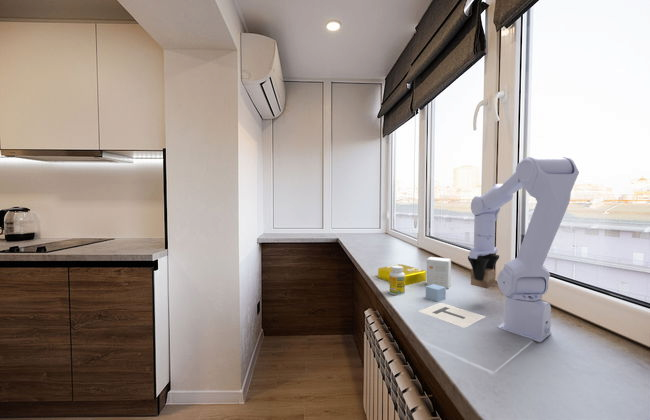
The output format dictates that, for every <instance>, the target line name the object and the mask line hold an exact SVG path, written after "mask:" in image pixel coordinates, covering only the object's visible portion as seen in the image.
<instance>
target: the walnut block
mask: <svg viewBox="0 0 650 420" xmlns="http://www.w3.org/2000/svg"><path fill="white" fill-rule="evenodd" d="M495 281H496V269H495V268H494V269H488V268H485V273H484V278H483V281H480V280H476V279H475V277H474V272H473V269H472V268H471V269H470V285H471V286H475V287H478V288H479V287H480V288H484V289H489V288H493V287H494V286H496V285H495V284H496V283H495Z"/></svg>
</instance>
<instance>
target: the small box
mask: <svg viewBox="0 0 650 420" xmlns="http://www.w3.org/2000/svg"><path fill="white" fill-rule="evenodd" d="M451 282H452V259H451V258H448V257H447V258H446V257H435V256H429V257H427V259H426V286H429V285H432V284H435V285H439V286H443V287H446V290H449V288H450V287H451V285H452V283H451Z"/></svg>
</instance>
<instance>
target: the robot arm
mask: <svg viewBox="0 0 650 420" xmlns="http://www.w3.org/2000/svg"><path fill="white" fill-rule="evenodd" d="M579 174H580V172H579V169H578V168H577V165H576V163H575V162H574V159H572V158H571V157H567V156H563V157H534V156H527V157H524V158H523V159H521V160H520V162H518V163H517V164H516V167H515V172H514V173H513V174H511V176H510V177H509V178H508V179H507V180H505V182H504V183H495V184H494V185H492V187H491V188H490V189H489V190H488V191H487V192H484V194H483V195H482V196H481V195H480V196H479V195H478V196H477V195H475V196H473V198H472V200H471V202H470V210H471V213H472V214H473V215H474V218H473V221H474V224H473V225H474V226H473V227H474V228H473V229H474V231H473V247H470V248H469V252H468V253H469V255H468V256H467V260H468V262H469V263H470V265H471V269H473V272H474V277H475V279H476V280H480V281H483V278H484V273H485V268H488V269H494V270H495V266H496V264H497V262H498V260H499V259H500V255H499V254H498V247H496V245H495V242H496V240H495V238H496V234H495V233H496V221H497V220H498V215H499V213H500V210H501V208H502V207H503V206H504V205H507V204H508V203H509V202H510V201H511V200H512V199H513V197H514V196H513V195H514V194H515V193H516V192H518V191H520V190H521V189H524V190H526V192H527V193H528V195H529V196H530V197H532V198H535V201H536V204H535V206H534V210H533V212H532V216H531V218H530V221H529V223H528V225H527V229H526V231H525V233H524V234H525V235H524V237H523V240H522V242H521V245H520V247H519V250H518V254H517V256H516V258H513V259H512V260H510V261H508V262H507V263H505V264H504V267H503V269H501V270H500V271H499V273H498V276H497V279H496V281H497V286H498V289H499V290H500V291H501V293H502V294H503V295H504V317H503V319H504V321H503V322H502V323H501V324H500V325H498V326H497V328H498V329H501V330H504V331H506V332H510V333H513V334H516V335H518V336H522V337H525V338H528V339H531V340H532V341H535V342H537V343H542V342H543V341H544V340H545V339H547V337H549V336H550V335H551V334H552V332H551V324H552V322H551V321H552V319H551V318H552V317H551V316H552V306H551V304H550V302H547V301H544V300H542V299H543V295H545V294H546V293H547V292H548V291H549V290H548V289H549V280H550V277H551V273H550V271H549V270H548V268H546V267H545V266H544V264H545V261H546V258H547V256H548V255H549V252H550V250H551V247H552V245H553V242H554V240H555V237H556V235H557V233H558V231H559V227H560V225H561V223H562V220H563V218H564V217H565V213H566V211H567V209H568V206H569V204H570V201H571V193H572V190H573V189H574V186H575V183H576V180H577V178H578V176H579Z"/></svg>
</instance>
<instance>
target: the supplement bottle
mask: <svg viewBox="0 0 650 420" xmlns="http://www.w3.org/2000/svg"><path fill="white" fill-rule="evenodd" d="M395 265H396V266H393V265H391V266H392V267H391V270H392V272H390V275H389V281H388V282H389V285H388V286H389V289H388V290H389V294H390V295H392V296H398V295H399V296H400V295H404V294H405V291H406V290H405V289H406V285H405V274H404V273H403V272H402V271H403V267H402V266H397V265H398V264H395Z"/></svg>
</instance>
